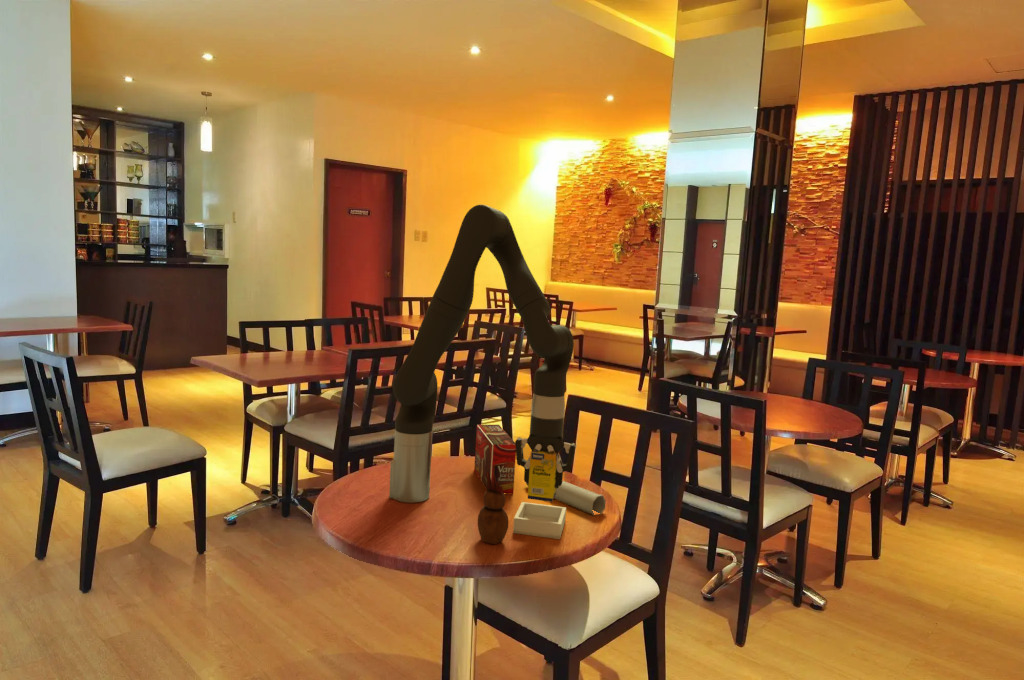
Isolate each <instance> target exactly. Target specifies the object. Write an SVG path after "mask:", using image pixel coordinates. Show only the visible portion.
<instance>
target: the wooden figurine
mask: <svg viewBox="0 0 1024 680" xmlns="http://www.w3.org/2000/svg"><path fill="white" fill-rule="evenodd" d="M482 502H483V506H482V507H481V508H480V510H479V512H478V515H477V530H478V533H479V536H480V539H481V540H482V541H483V542H485V543H487V544H491V545H497V544H500V543H501V542H503V541H504V539H505V538H506V535H507V533H508V530H509V516H508V514H507V513H508V512H506V511H505V509H504V507H505V504H506V494H504V493H503V492H502V486H500V487H499V481H498V482H497V483H496V479H495V476H494V477H493V481H492V482H491V477H490V472H488V478H487V490H486V491H485V493H484V495H483V501H482Z"/></svg>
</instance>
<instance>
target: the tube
mask: <svg viewBox="0 0 1024 680" xmlns="http://www.w3.org/2000/svg"><path fill="white" fill-rule="evenodd" d="M526 483H527V482H525V484H526ZM553 500H556V501H559V502H561V503H564V504H566V505H568V506H570V505H571V507H573V506H574V507H573V508H575V507H576V509H577V508H578V510H580V509H581V510H580V511H582V510H583V511H582V512H585V511H586V512H585V513H587V512H588V514H589V513H591V514H590V515H591V516H593V515H594V513H593V511H592V510H594V511H596V512H598V513H600V515H602V513H603V512H604V511H605V509H606V501H607V500H606V498H605V496H604V495H603V494H598V493H597V492H594V491H592V490H588V489H586V488H583V487H580V486H577V485H575V484H572V483H570V482H567V481H564V480H563V481H562V484H561V486H559V488H557V490H556V495H555V497H554V499H553Z"/></svg>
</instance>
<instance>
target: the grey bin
mask: <svg viewBox="0 0 1024 680" xmlns="http://www.w3.org/2000/svg"><path fill="white" fill-rule="evenodd" d="M566 516H567V507H566V506H565V507H564V506H557V505H549V504H542V503H535V502H534V503H533V502H526V501H521V503H520V505H519V507H518V509H517V511H516V512H515V515H514V517H513V527H512V533H513V534H517V535H527V536H531V535H532V537H533V536H534V537H540V538H545V539H546V538H549V539H556V540H561V538H562V537H561V536H562V534H563V530H564V527H565V523H566V518H567V517H566Z"/></svg>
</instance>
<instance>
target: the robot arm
mask: <svg viewBox="0 0 1024 680" xmlns="http://www.w3.org/2000/svg"><path fill="white" fill-rule="evenodd" d="M486 248H487V250H489V252H490V253H491V254H492V256H493V257H494V258H495V260H496V261H497V263H498V265H499V266H500V268H501V271H502V274H503V279H504V283H505V286H506V287H505V288H506V291H507V294H508V296H509V298H510V300H511V302H512V304H513V306H514V307H515V309H516V311H517V314H519V316H520V318H521V319H522V324H523V328H524V331H525V336H526V339H527V342H528V344H529V347H530V349H531V350H532V351H533V352H534V354H535V355H536V356H538V357H540V359H541V358H542V359H543V363H542V365H540V367H538V368H536V370H535V373H534V377H533V391H532V392H533V394H532V400H531V410H530V425H529V434H528V437H527V438H525V437H524V438H522V437H521V436H519V437H517V438H516V440H515V441H514V442H515V446H516V464H517V466H521V467H523V469H524V470H523V472H524V474H523V480H524V482H525V484H526V485H527V486H528V485H529V470H530V456H529V457H528V459H527V460H526V459H524V449H525V447H526V445H528V447H529V448H530V450H531V451H536V452H539V451H545V452H549V453H554V454H556V453H557V454H558V453H559V456H558V457H557V466H556V468H557V472H556V483H555V488H559V486H561V484H562V481H564V480H563V478H564V473H565V472H570V471H571V469H572V466H573V463H574V458H575V453H576V448H577V444H576V443H574V442H572V443H569V442H565V439H564V423H565V414H566V413H565V412H566V401H565V396H566V395H565V390H566V377H567V373H568V370H569V368H570V364H571V361H572V357H573V353H574V345H575V342H574V336H573V334H572V332H571V331H572V330H570V329H569V328H568V327H567V326H565V325H562V324H556V325H551V324H550V321H549V319H548V316H549V315H550V313H551V306H550V304H549V301H548V300H547V298H546V297H545V295H544V292H543V291H542V289H541V288H540V286H539V284H538V282H537V280H536V279H535V277H534V275H533V273H532V272H531V269H530V267H529V265H528V263H527V261H526V259H525V257H524V254H523V253H522V250H521V248H520V245H519V243H518V240H517V237H516V235H515V231H514V229H513V226H512V224H511V222H510V220H509V218H508V216H507V215H506V213H504V212H502V211H501V210H499V209H496V208H494V207H491V206H489V205H487V204H476V205H474V206H473V207H470V209H469V210H468V211H467V212H466V214H465V216H464V217H463V219H462V221H461V225H460V227H459V230H458V233H457V237H456V240H455V243H454V245H453V249H452V251H451V254H450V257H449V259H448V262H447V264H446V266H445V268H444V271H443V273H442V276H441V278H440V281H439V283H438V285H437V287H436V289H435V291H434V293H433V296H432V298H431V299H430V302H429V304H428V306H427V310H426V312H425V314H424V316H423V319H422V322H421V324H420V325H419V328H418V332H417V334H416V336H415V339H414V342H413V345H412V346H411V349H410V350H409V353H408V354H407V356H406V358H405V359H404V361H403V363H402V365H400V368H399V369H398V371H397V373H396V375H395V376H394V379H393V382H392V393H393V396H394V398H395V399H396V400H397V402H398V403H399V404H400V408H399V410H398V413H397V416H396V418H395V421H394V439H393V440H394V443H393V445H394V446H393V459H391V460H390V469H389V470H390V471H389V476H390V478H389V495H388V497H389V498H390V499H393V500H395V501H398V502H401V503H420V502H425V501H426V500H428V499H429V498H430V491H431V487H430V485H431V467H432V451H433V449H432V448H433V447H432V445H433V426H434V422H435V419H436V418H435V417H436V414H437V399H438V379H437V375H436V372H435V371H436V368H437V366H438V364H439V362H440V360H441V358H442V356H443V354H444V353H445V352H446V351H447V349H448V348H449V347H450V345H451V343H452V342H453V341H454V339H455V338H456V336H457V335H458V333H459V332H460V330H461V328H462V327H463V325H464V322H465V320H466V319H467V316H468V314H469V312H470V309H471V307H472V305H473V300H474V292H475V291H474V290H475V276H476V271H477V267H478V265H479V261H480V260H481V258H482V256H483V253H484V251H485V250H486ZM563 448H564V449H565V453H566V454H567V460H566V463H563V462H562V461H563V460H562V458H561V455H560V452H561V451H562V449H563ZM526 482H527V483H526Z"/></svg>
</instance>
